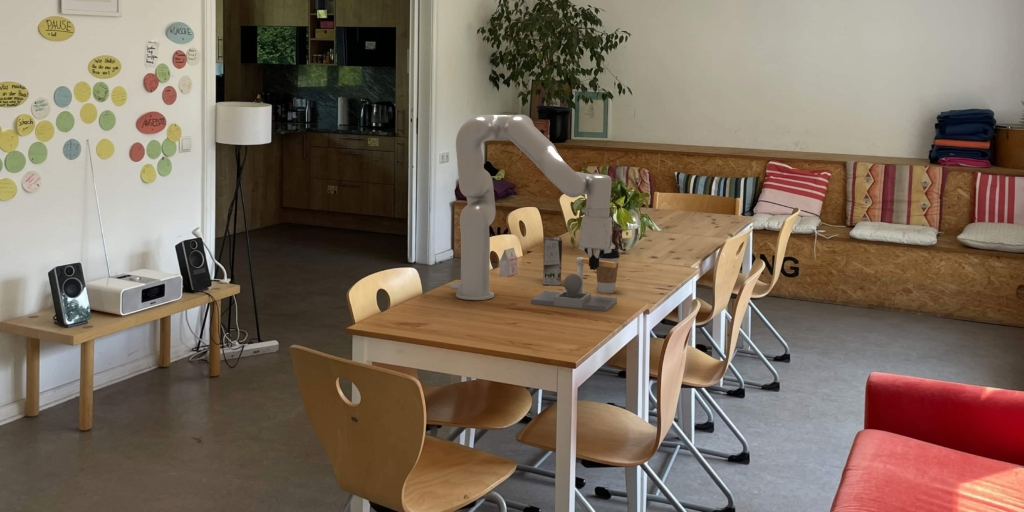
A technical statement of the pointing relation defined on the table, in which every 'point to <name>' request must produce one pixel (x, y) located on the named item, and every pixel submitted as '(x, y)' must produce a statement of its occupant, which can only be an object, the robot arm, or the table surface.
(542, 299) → the plate with square opening
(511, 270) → the red and white carton
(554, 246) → the coffee box
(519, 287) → the table surface
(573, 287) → the light bulb
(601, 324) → the table surface
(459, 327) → the table surface
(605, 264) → the long wooden bar
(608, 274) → the coffee cup
